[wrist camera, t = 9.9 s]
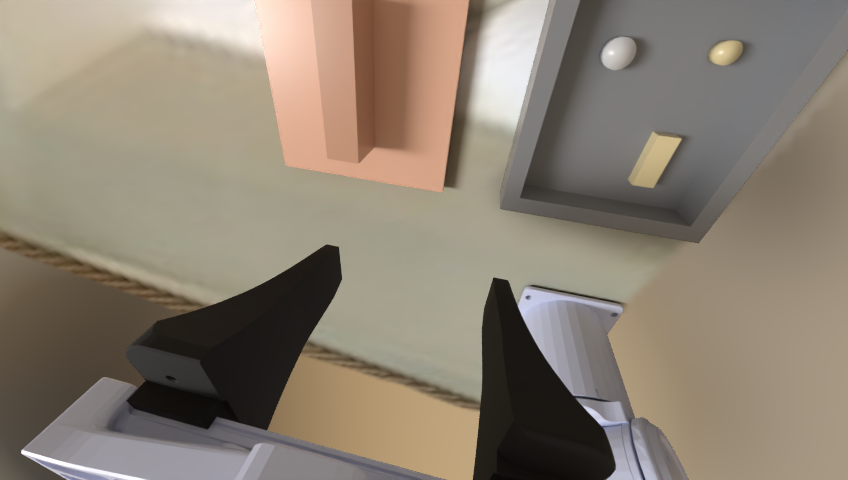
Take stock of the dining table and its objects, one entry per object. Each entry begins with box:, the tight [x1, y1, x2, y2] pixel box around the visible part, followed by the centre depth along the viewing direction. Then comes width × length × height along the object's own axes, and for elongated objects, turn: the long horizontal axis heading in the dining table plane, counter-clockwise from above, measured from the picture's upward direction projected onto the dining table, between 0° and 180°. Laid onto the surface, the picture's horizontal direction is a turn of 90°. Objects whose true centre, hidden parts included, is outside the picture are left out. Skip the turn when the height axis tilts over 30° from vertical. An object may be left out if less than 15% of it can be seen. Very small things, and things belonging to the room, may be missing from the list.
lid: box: [254, 0, 470, 192], centre depth 18 cm, size 13×12×4 cm
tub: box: [500, 0, 848, 243], centre depth 17 cm, size 13×12×2 cm
